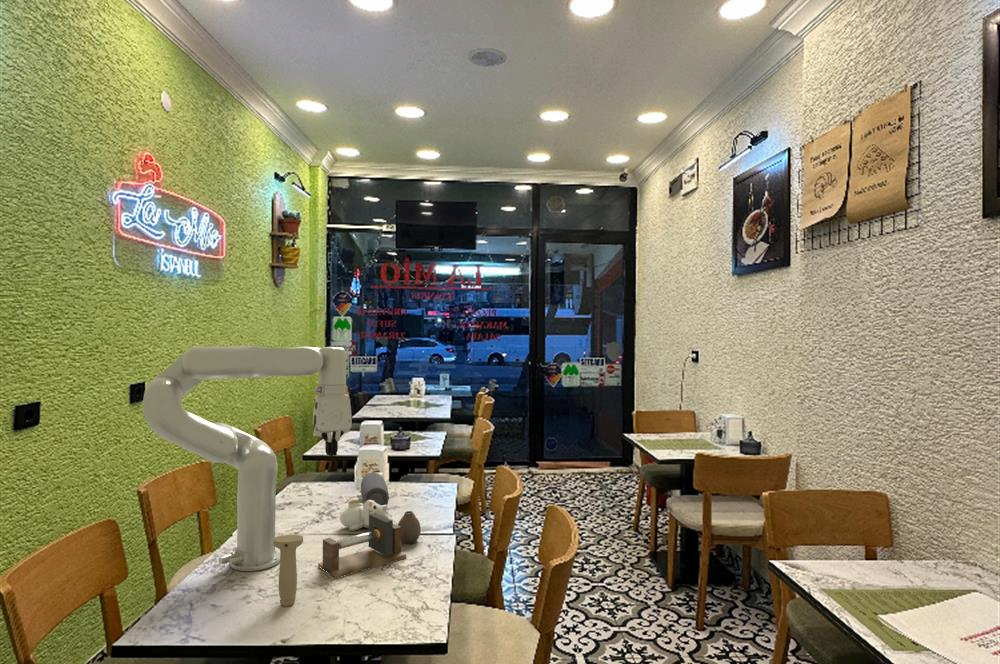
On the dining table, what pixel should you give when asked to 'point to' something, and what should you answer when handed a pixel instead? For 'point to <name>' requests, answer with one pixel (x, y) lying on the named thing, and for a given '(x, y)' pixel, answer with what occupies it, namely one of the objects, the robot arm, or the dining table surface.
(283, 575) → the handle
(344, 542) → the pipe
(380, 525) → the collar
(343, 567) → the stand
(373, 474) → the bluetooth speaker
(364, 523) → the cat figurine
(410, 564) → the dining table surface
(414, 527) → the vase
